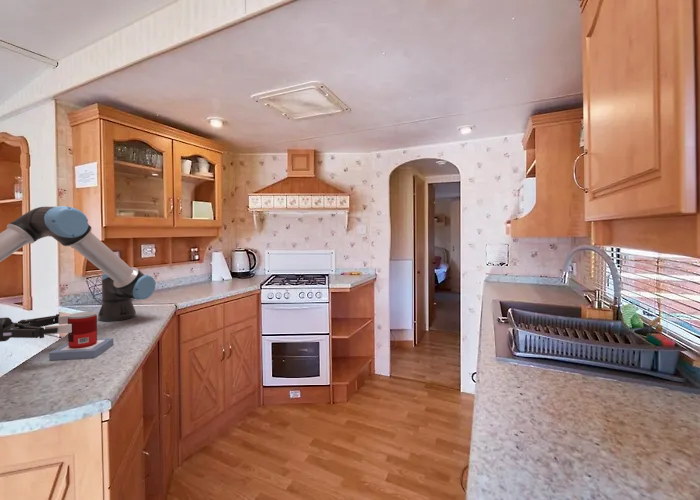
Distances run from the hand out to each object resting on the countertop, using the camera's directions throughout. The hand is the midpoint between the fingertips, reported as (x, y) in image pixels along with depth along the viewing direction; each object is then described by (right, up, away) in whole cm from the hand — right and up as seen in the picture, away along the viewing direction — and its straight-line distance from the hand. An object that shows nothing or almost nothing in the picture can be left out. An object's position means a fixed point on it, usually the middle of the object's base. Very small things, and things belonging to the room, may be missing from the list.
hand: (77, 323), depth 113 cm
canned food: (+1, -8, +1) cm, 8 cm away
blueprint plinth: (+1, -11, +2) cm, 11 cm away
